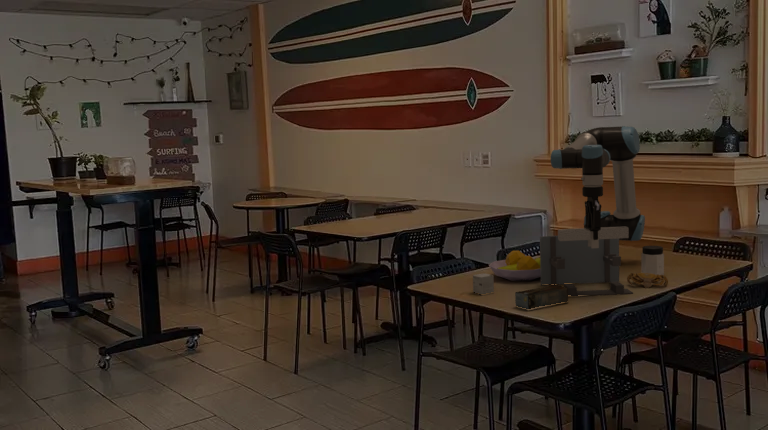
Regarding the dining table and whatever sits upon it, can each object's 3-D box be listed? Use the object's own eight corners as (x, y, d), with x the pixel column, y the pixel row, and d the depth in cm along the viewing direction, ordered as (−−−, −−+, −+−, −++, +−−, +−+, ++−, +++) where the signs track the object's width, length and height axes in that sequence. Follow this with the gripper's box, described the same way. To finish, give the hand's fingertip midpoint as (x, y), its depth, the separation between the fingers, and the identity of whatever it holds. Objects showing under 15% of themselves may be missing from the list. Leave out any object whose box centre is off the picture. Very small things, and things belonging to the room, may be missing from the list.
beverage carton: (514, 307, 280) (513, 290, 280) (555, 299, 289) (554, 282, 289) (528, 312, 273) (527, 293, 273) (569, 303, 282) (569, 286, 282)
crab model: (664, 282, 310) (664, 268, 310) (670, 289, 298) (670, 275, 297) (624, 282, 313) (624, 269, 312) (628, 289, 301) (628, 275, 300)
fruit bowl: (483, 283, 322) (482, 256, 321) (498, 270, 347) (497, 245, 346) (550, 285, 312) (550, 258, 311) (561, 272, 337) (560, 247, 335)
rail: (558, 239, 294) (557, 229, 294) (625, 236, 295) (625, 226, 294) (560, 241, 291) (560, 230, 290) (628, 238, 291) (628, 227, 291)
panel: (540, 284, 314) (539, 236, 312) (618, 280, 315) (618, 232, 313) (548, 292, 301) (547, 241, 298) (629, 288, 301) (629, 237, 299)
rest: (555, 293, 298) (555, 284, 298) (626, 289, 299) (626, 280, 299) (559, 297, 292) (559, 288, 291) (633, 293, 292) (633, 284, 292)
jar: (654, 278, 317) (654, 249, 315) (637, 275, 324) (637, 247, 322) (667, 275, 322) (667, 246, 320) (651, 272, 329) (651, 244, 327)
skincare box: (472, 293, 306) (472, 274, 305) (485, 290, 308) (484, 272, 308) (481, 295, 300) (481, 277, 299) (494, 293, 303) (493, 275, 302)
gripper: (576, 184, 298) (577, 244, 301) (589, 188, 282) (589, 251, 285) (595, 183, 298) (596, 243, 301) (609, 187, 282) (609, 250, 285)
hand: (593, 247), depth 293 cm, fingers closed on rail, 3 cm apart
